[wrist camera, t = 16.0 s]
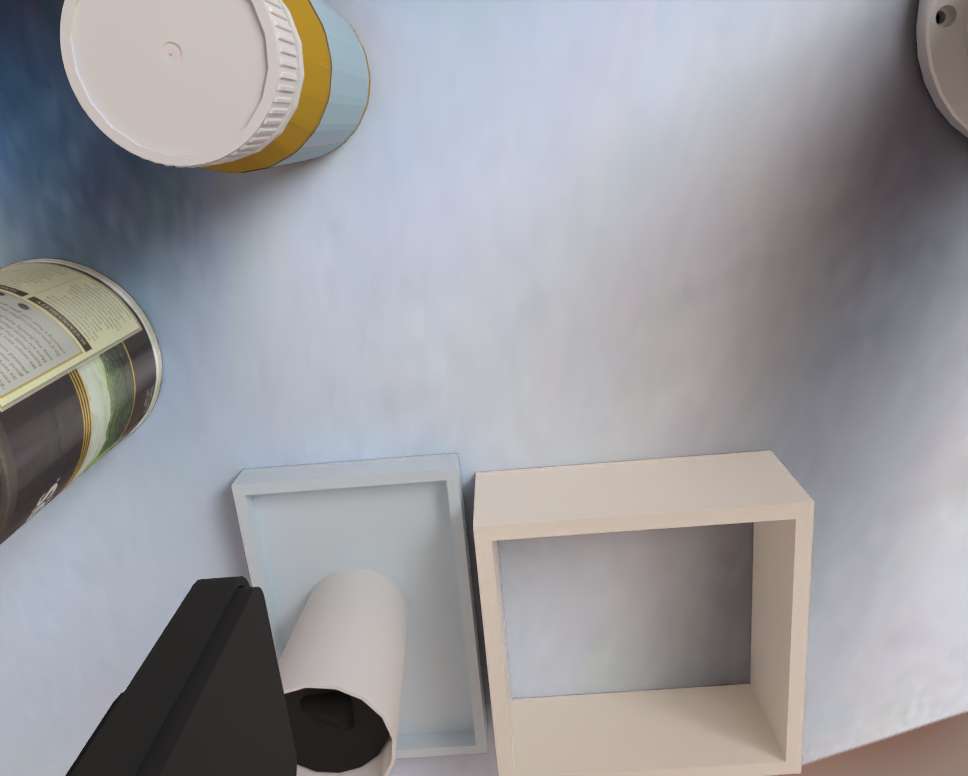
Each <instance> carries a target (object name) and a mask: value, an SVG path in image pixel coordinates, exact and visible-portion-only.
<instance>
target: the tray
mask: <svg viewBox="0 0 968 776" xmlns="http://www.w3.org/2000/svg"><path fill="white" fill-rule="evenodd" d="M231 487H232V492H233V497H234V502H235V507H236V511H237V516H238V521H239V526H240V531H241V536H242V540H243V545H244V550H245V555H246V560H247V565H248V569H249V574H250V579H251V584H252V587H260V588H261V589H262V591H263V593H264V597H265V601H266V606H267V611H268V616H269V621H270V626H271V631H272V636H273V641H274V646H275V651H276V656H277V661H278V662H279V660H280V658H281V656H282V653H283V651H284V649H285V647H286V645H287V643H288V641H289V639H290V636H291V634H292V632H293V630H294V628H295V626H296V624H297V622H298V619H299V617H300V615H301V613H302V611H303V609H304V607H305V605H306V602H307V600H308V598H309V596H310V594H311V592H312V590H313V588H314V586H315V585H316V584H317V583H318V582H320V581H321V580H322V579H323V578H325V577H326V576H327V575H328V574H330V573H334V572H337V571H340V570H344V569H347V568H354V569H369V570H371V571H374V572H376V573H378V574H381V575H383V576H385V577H388V578H389V579H390V580H391V581H392V582H393V583H394V584H395V585H396V586H397V587H398V588H399V589H400V590H401V591H402V593H403V595H404V597H405V600H406V602H407V604H408V607H409V618H408V631H407V642H406V652H405V663H404V674H403V684H402V695H401V706H400V716H399V727H398V738H397V748H396V759H401V758H417V757H433V756H449V755H466V754H482V753H487V742H488V727H487V717H486V708H485V698H484V689H483V680H482V670H481V661H480V651H479V642H478V632H477V623H476V613H475V604H474V594H473V585H472V575H471V566H470V556H469V547H468V537H467V528H466V518H465V509H464V499H463V490H462V480H461V471H460V461H459V453H451V454H438V455H424V456H411V457H398V458H385V459H372V460H359V461H346V462H333V463H319V464H306V465H293V466H280V467H267V468H254V469H243V470H242V471H241V473H240V474H239V475H238V477H237V478H236V480H235V481H234V482H233V484H232V485H231Z"/></svg>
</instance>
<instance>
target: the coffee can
mask: <svg viewBox="0 0 968 776" xmlns="http://www.w3.org/2000/svg"><path fill="white" fill-rule="evenodd" d="M161 380H162V361H161V353H160V349H159V345H158V341H157V338H156V336H155V333H154V331H153V328H152V326H151V324H150V322H149V320H148V318H147V317H146V315H145V314H144V312H143V311H142V310H141V308H140V307H139V306H138V304H137V303H136V302H135V301H134V300H133V299H132V298H131V297H130V296H129V295H128V294H127V293H126V292H125V291H124V290H123V289H122V288H121V287H120V286H118V285H117V284H116V283H115V282H113V281H112V280H110V279H109V278H107V277H105V276H104V275H102V274H101V273H99V272H97V271H95V270H93V269H91V268H89V267H87V266H84V265H81V264H77V263H73V262H69V261H65V260H59V259H46V258H41V259H31V260H25V261H20V262H17V263H14V264H11V265H7V266H5V267H3V268H1V269H0V544H1V543H3V542H4V541H5V540H6V539H7V538H8V537H10V536H11V535H12V534H13V533H14V532H15V531H16V530H17V529H19V528H20V527H21V526H22V525H23V524H24V523H26V522H27V521H28V520H29V519H31V518H32V517H33V516H34V515H35V514H36V513H38V512H39V511H40V510H41V509H42V508H43V507H44V506H46V505H47V504H48V503H49V502H50V501H51V500H52V499H53V498H54V497H56V496H57V495H58V494H59V493H60V492H61V491H62V490H64V489H65V488H66V487H67V486H68V485H69V484H71V483H72V482H73V481H74V480H75V479H76V478H78V477H79V476H80V475H81V474H82V473H83V472H85V471H86V470H87V469H88V468H89V467H90V466H91V465H93V464H94V463H95V462H96V461H97V460H98V459H100V458H101V457H102V456H103V455H104V454H106V453H107V452H108V451H109V450H111V449H112V448H113V447H114V446H115V445H116V444H117V443H119V442H120V441H121V440H123V439H124V438H126V437H127V436H129V435H130V434H131V433H133V432H134V431H135V430H136V429H137V428H138V427H139V426H140V425H141V424H142V423H143V422H144V421H145V419H146V418H147V417H148V415H149V414H150V412H151V410H152V409H153V407H154V405H155V403H156V400H157V398H158V395H159V392H160V386H161Z"/></svg>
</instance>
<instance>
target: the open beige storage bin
mask: <svg viewBox="0 0 968 776" xmlns="http://www.w3.org/2000/svg"><path fill="white" fill-rule="evenodd" d="M748 522H754V537H753V580H752V623H751V667H750V684H738V685H722V686H707V687H691V688H676V689H660V690H645V691H629V692H613V693H598V694H582V695H567V696H551V697H536V698H520V699H512V697H511V687H510V676H509V665H508V654H507V643H506V632H505V622H504V611H503V600H502V589H501V578H500V567H499V557H498V546H497V540H511V539H525V538H539V537H553V536H567V535H581V534H595V533H608V532H622V531H636V530H650V529H664V528H678V527H692V526H706V525H720V524H734V523H748ZM813 522H814V501H813V500H812V498H811V497H810V496H809V495H808V494H807V493H806V491H805V490H804V489H803V488H802V487H801V485H800V484H799V483H798V482H797V481H796V480H795V478H794V477H793V476H792V475H791V474H790V472H789V471H788V470H787V469H786V468H785V466H784V465H783V464H782V463H781V462H780V461H779V459H778V458H777V457H776V456H775V455H774V453H773V452H772V451H771V450H767V451H754V452H741V453H727V454H714V455H701V456H687V457H674V458H661V459H647V460H634V461H621V462H608V463H594V464H581V465H568V466H554V467H541V468H528V469H515V470H501V471H488V472H476V476H475V497H474V517H473V532H474V541H475V551H476V561H477V571H478V580H479V590H480V600H481V610H482V619H483V629H484V639H485V649H486V658H487V668H488V678H489V688H490V697H491V707H492V717H493V727H494V736H495V746H496V756H497V766H498V775H499V776H766V775H782V774H798V773H801V763H802V743H803V723H804V703H805V683H806V663H807V642H808V622H809V602H810V582H811V562H812V542H813Z"/></svg>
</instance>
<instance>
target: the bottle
mask: <svg viewBox="0 0 968 776" xmlns="http://www.w3.org/2000/svg"><path fill="white" fill-rule="evenodd" d="M60 43H61V52H62V58H63V63H64V67H65V70H66V74H67V77H68V79H69V82H70V85H71V87H72V89H73V91H74V93H75V95H76V97H77V99H78V101H79V102H80V104H81V106H82V107H83V109H84V110H85V112H86V113H87V115H88V116H89V117H90V118H91V120H92V121H93V122H94V123H95V124H96V125H97V127H98V128H99V129H100V130H101V131H102V132H103V133H105V134H106V135H107V136H108V137H109V138H110V139H111V140H113V141H114V142H115V143H117V144H118V145H120V146H121V147H122V148H124V149H126V150H128V151H129V152H130V153H132V154H135V155H137V156H139V157H141V158H142V159H145V160H150V161H152V162H153V163H156V164H158V163H161V164H164V165H165V166H176V167H177V168H182V167H188V168H194V167H202V168H205V169H209V170H216V171H223V172H230V173H240V172H249V171H255V170H260V169H266V168H271V167H275V166H280V165H285V164H290V163H294V162H299V161H304V160H309V159H313V158H318V157H320V156H323V155H325V154H327V153H329V152H331V151H332V150H334V149H336V148H338V147H339V146H341V145H342V144H343V143H345V142H346V141H347V139H348V138H349V137H350V136H351V135H352V134H353V133H354V131H355V130H356V129H357V128H358V126H359V124H360V123H361V120H362V118H363V115H364V113H365V111H366V108H367V105H368V101H369V92H370V71H369V67H368V62H367V57H366V53H365V51H364V48H363V46H362V44H361V42H360V40H359V39H358V37H357V35H356V33H355V31H354V30H353V28H352V27H351V26H350V24H349V23H348V22H347V21H346V20H345V19H344V18H343V17H342V16H341V15H340V14H339V13H338V12H337V11H336V10H335V9H334V8H333V7H331V6H330V5H328V4H327V3H326V2H324V1H323V0H65V2H64V5H63V10H62V15H61V25H60Z"/></svg>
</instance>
